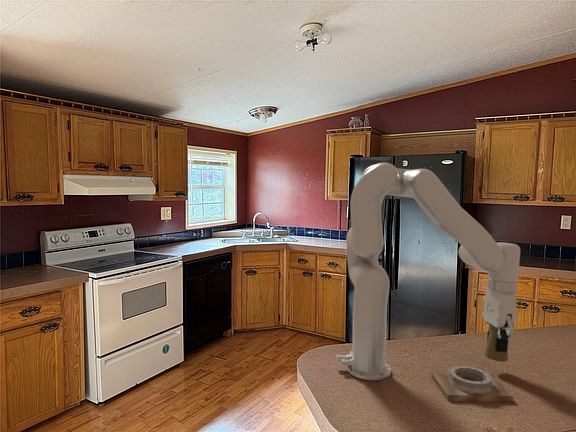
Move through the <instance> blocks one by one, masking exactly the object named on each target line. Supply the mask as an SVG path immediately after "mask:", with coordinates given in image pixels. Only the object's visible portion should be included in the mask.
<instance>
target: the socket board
mask: <svg viewBox="0 0 576 432" xmlns="http://www.w3.org/2000/svg"><path fill="white" fill-rule="evenodd" d="M431 379H432V380H433V382H434V383H435V385H436V386H437V387H438V389H439V390H440V392H441V393H442V395H443V396H444V397H445V398H446V400H447V401H448V402H450V401H451V402H492V403H493V402H495V403H496V402H497V403H500V402H501V403H513V401H514V396H513V395H512V393H511V392H509V390H507V388H505V387H504V386H503V385H502V384H501V383H500V382H499V381H498V380H497V379H496V378H495V377H494V376H492V374H491V373H489V372H487V371H485V370H483V369H481V368H478V367H473V366H470V365H456V366H452V367H450V369H449V371H448V372H437V371H436V372H431Z"/></svg>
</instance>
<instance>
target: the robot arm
mask: <svg viewBox="0 0 576 432" xmlns="http://www.w3.org/2000/svg"><path fill="white" fill-rule="evenodd" d="M386 195H387V196H392V197H393V196H394V197H402V198H411V199H414V201H415V202H416V203H417V205H418V206H419V207H420V208H421V210H423V212H424V214H426V215H427V217H428V218H429V220H430V221H431V223H433V224H434V225H435V226H436V228H438V229H439V230H440V231H441V232H444V233H446V234H447V235H449V236H450V237H451V238H453V239H454V240H455V241H457V243H459V244H460V247H459V249H458V256H459V258H460V260H461V261H462V262H463V263H464V264H466V265H468V266H470V267H473V268H475V269H479V270H480V271H483V272H487V282H486V283H487V286H486V291H485V294H484V299H483V306H482V315H481V316H482V319H484V320H485V321H486V323H487V324H486V325H487V327H486V330H487V335H486V336H487V338H486V343H487V342H488V337H489V333H490V328H489V323H490V324H491V325H493V326H494V327H496V328H498V337H496V345H495V351H497V352H508V351H509V350H508V349H509V347H508V346H509V340H510V337H512V335H514V334H515V328H516V327H515V326H516V321H517V295H516V294H518V283H519V273H520V269H519V268H520V262H521V261H520V259H521V247H520V246H519V245H518V244H516V243H510V242H497V241H495V239H494V238H493V237H492V235H491V234H490V233H489V232H488V230H486V228H485V227H484V226H483V225H482V224H481V223H479V222H478V221H477V220H476V219H475V218H474V217H473V216H472V215H470V213H468V212H467V211H466V210H465V209H464V208H463V207H462V206H461V205H460V204H459V202H457V200H456V199H455V198H454V196H453V195H452V194H451V192H450V191H449V190H448V189H447V188H446V186H445V185H444V183H443V182H442V181H441V180H440V179H439V177H438V176H437V175H436V174H435V173H434V172H433V171H431V170H430V169H427V168H417V169H415V168H414V169H406V168H398V167H396V166H395V165H394V164H393V163H391V162H390V163H389V162H378V163H376V164H372V165H370V166H368V167H367V168H365V169H364V171H363V173H362V176H361V177H360V178H359V179H358V181H357V182H356V184H355V186H354V188H353V190H352V194H351V197H350V224H351V225H350V228H349V229H348V231H347V233H346V239H345V240H346V241H345V246H346V256H347V257H346V259H347V269H348V277H349V279H350V282H351V283H352V284H353V286H354V293H353V301H352V302H353V305H352V342H351V343H352V347H351V348H352V350H350V351H349V354H348V353H347V354H346V355H342V354H337V355H336V356H335V359H336V363H340V365H341V366H346V370H347V372H348V373H349V374H350V375H351V376H353V377H355V378H356V379H361V380H365V381H381V380H386V379H387V378H389V377H390V376H391V374H392V368H391V366H390V365H389V364H388V363H386V361H387V359H386V358H387V325H388V323H387V322H388V321H387V315H388V313H387V312H388V300H389V295H390V294H389V293H390V278H389V275H388V273H387V271H386V270H385V268H384V267H382V266H381V265H380V264H379V256H380V254H381V253H382V251H383V250H384V249H383V248H384V245H385V244H384V234H383V220H382V204H383V201H384V198H385V197H386ZM504 325H506V327H503V326H504ZM502 329H503V330H506V331H503V332H502Z"/></svg>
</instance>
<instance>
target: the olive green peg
mask: <svg viewBox="0 0 576 432" xmlns="http://www.w3.org/2000/svg"><path fill="white" fill-rule="evenodd" d="M503 327H506V325H504V326H503ZM489 328H490V333H489V337H488V342H487V341H486V345H485V346H486V347H485V350H484V356H485V357H486V358H488V360H492V361H495V362H502V363H503V362H507V361H509V356H508V354H509V353H508V351H507V352H497V351H495V345H496V337H498V328H496V327H494V326H493V325H491V324H490V323H489ZM503 331H506V330H503V329H502V332H503Z"/></svg>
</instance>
